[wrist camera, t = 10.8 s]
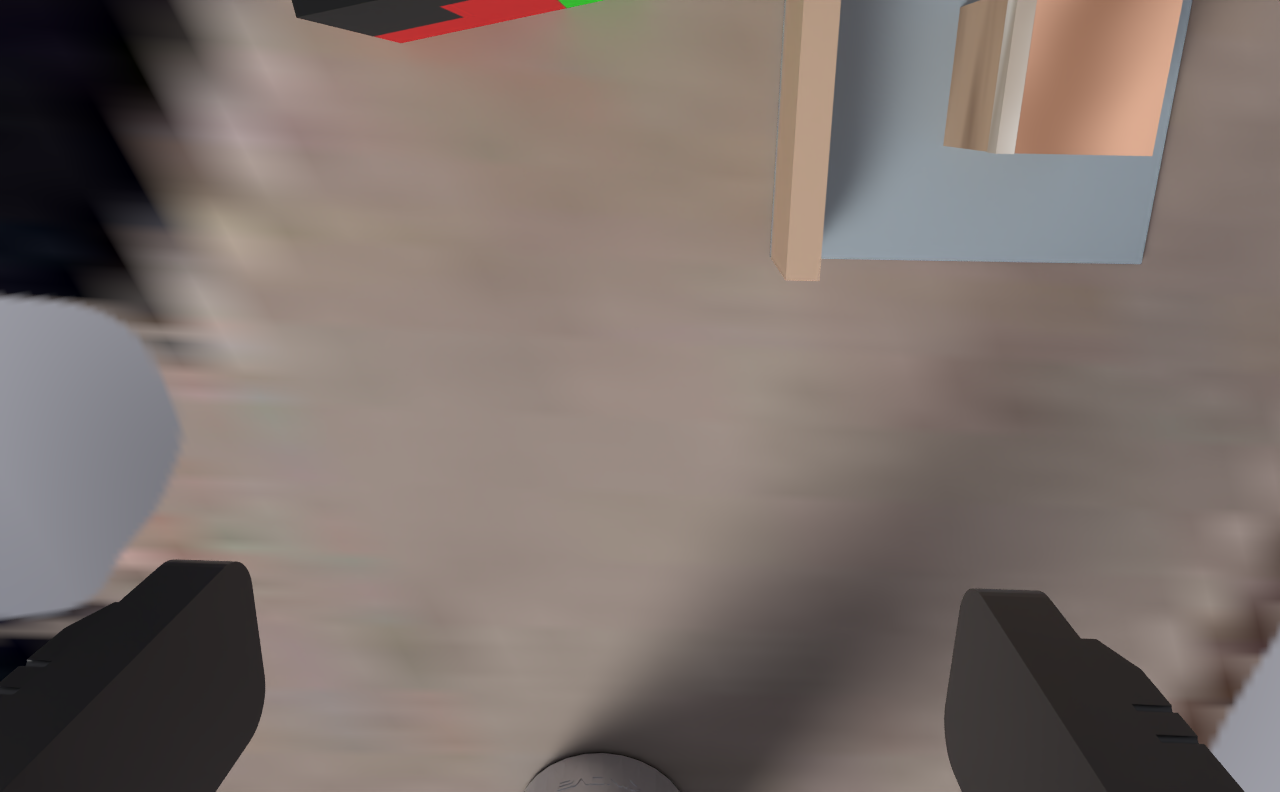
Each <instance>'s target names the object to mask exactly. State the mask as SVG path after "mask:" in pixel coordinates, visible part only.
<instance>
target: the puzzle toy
mask: <svg viewBox="0 0 1280 792" xmlns="http://www.w3.org/2000/svg"><path fill="white" fill-rule="evenodd" d="M598 1H602V0H292V3H293V6H294V10H295V13H296V17H297V18H301V19H305V20H309V21H313V22H317V23H321V24H325V25H329V26H333V27H337V28H341V29H345V30H350V31H354V32H358V33H362V34H366V35H370V36H374V37H378V38H382V39H386V40H390V41H394V42H399V43H404V42H409V41H413V40H418V39H423V38H427V37H432V36H437V35H442V34H446V33H451V32H456V31H461V30H465V29H470V28H475V27H479V26H484V25H489V24H494V23H498V22H503V21H508V20H513V19H517V18H522V17H527V16H531V15H536V14H541V13H546V12H550V11H555V10H560V9H565V8H569V7H574V6H579V5H584V4H588V3H593V2H598Z"/></svg>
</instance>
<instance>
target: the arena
mask: <svg viewBox="0 0 1280 792" xmlns="http://www.w3.org/2000/svg"><path fill="white" fill-rule="evenodd" d="M977 1H979V0H785V6H784V23H783V41H782V58H781V75H780V92H779V109H778V126H777V143H776V160H775V178H774V195H773V212H772V229H771V246H770V257H771V259H772V260H773V262H774V263H775V265H776V266H777V268H778V269H779V271H780V272H781V274H782V275H783V277H784V279H785V280H792V281H819V280H820V267H821V259H873V260H931V261H989V262H1047V263H1105V264H1141V263H1142V258H1143V253H1144V247H1145V242H1146V237H1147V232H1148V227H1149V222H1150V216H1151V211H1152V206H1153V201H1154V196H1155V191H1156V185H1157V180H1158V175H1159V170H1160V165H1161V160H1162V154H1163V149H1164V144H1165V139H1166V134H1167V129H1168V124H1169V118H1170V113H1171V108H1172V103H1173V98H1174V93H1175V87H1176V82H1177V77H1178V72H1179V67H1180V62H1181V56H1182V51H1183V46H1184V41H1185V36H1186V31H1187V25H1188V20H1189V15H1190V10H1191V5H1192V0H1183V3H1182V8H1181V13H1180V18H1179V23H1178V28H1177V33H1176V38H1175V43H1174V48H1173V53H1172V58H1171V64H1170V69H1169V74H1168V79H1167V84H1166V89H1165V94H1164V99H1163V104H1162V109H1161V114H1160V120H1159V125H1158V130H1157V135H1156V140H1155V145H1154V150H1153V155H1152V156H1118V155H1067V154H1017V153H1014V154H994V153H987V152H985V151H978V150H970V149H963V148H955V147H948V146H943V144H944V135H945V127H946V119H947V111H948V103H949V95H950V87H951V78H952V70H953V62H954V54H955V46H956V38H957V30H958V22H959V13H960V7H963V6H965V5H968V4H971V3H974V2H977Z"/></svg>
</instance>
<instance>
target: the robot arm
mask: <svg viewBox="0 0 1280 792" xmlns="http://www.w3.org/2000/svg"><path fill="white" fill-rule="evenodd" d="M264 698H265V675H264V668H263V661H262V653H261V646H260V639H259V631H258V624H257V617H256V610H255V602H254V595H253V588H252V582H251V577H250V574H249V572H248V570H247V568H246V567H245V566H244V565H243V564H242V563H240V562H232V561H203V560H169V561H167V562H165V563H163V564H162V565H161V566H160V567H158V568H157V569H156V570H155V571H154V572H153V573H152V574H150V575H149V576H148V577H147V578H146V579H145V580H144V581H142V582H141V583H140V584H139V585H138V586H137V587H136V588H134V589H133V590H132V591H131V592H130V593H129V594H128V595H126V596H125V597H124V598H123V599H122V600H121V601H120V602H114V603H112V604H110V605H108V606H106V607H104V608H103V609H101V610H99V611H97V612H95V613H93V614H91V615H89V616H87V617H85V618H83V619H81V620H79V621H77V622H75V623H73V624H72V625H70V626H68V627H66V628H64V629H63V630H62V631H61V632H59V633H58V634H57V635H56V636H55V637H53V638H52V639H51V640H50V641H49V642H47V643H46V644H45V645H44V646H43V647H41V648H40V649H39V650H38V651H37V652H36V653H34V654H33V655H32V656H31V657H30V658H28V659H27V664H26V666H19V667H18V668H16V669H15V670H14V671H13V672H12V673H11V674H9V675H8V676H7V677H6V678H5V679H3V680H2V681H1V682H0V792H216V790H217V789H218V787H219V786H220V784H221V783H222V781H223V780H224V779H225V777H226V776H227V774H228V773H229V771H230V770H231V768H232V767H233V765H234V764H235V762H236V761H237V759H238V758H239V756H240V755H241V753H242V752H243V751H244V749H245V748H246V746H247V745H248V743H249V742H250V740H251V738H252V737H253V735H254V733H255V731H256V729H257V726H258V723H259V721H260V717H261V714H262V709H263V704H264ZM944 726H945V739H946V746H947V752H948V756H949V760H950V764H951V767H952V770H953V772H954V775H955V777H956V779H957V782H958V784H959V786H960V789H961V791H962V792H1244V791H1243V789H1242V788H1241V787H1240V786H1239V785H1238V784H1237V782H1236V781H1235V780H1234V779H1233V778H1232V776H1231V775H1230V774H1229V773H1228V772H1227V770H1226V769H1225V768H1224V767H1223V766H1222V765H1221V763H1220V762H1219V761H1218V760H1217V759H1216V758H1215V756H1214V755H1213V754H1212V753H1211V752H1210V750H1209V749H1208V748H1207V747H1206V746H1205V744H1199V743H1198V740H1197V737H1198V736H1197V735H1196V734H1195V733H1194V731H1193V730H1192V729H1191V728H1190V727H1189V725H1188V724H1187V723H1186V722H1185V721H1184V720H1183V718H1182V717H1181V716H1180V715H1179V714H1178V713H1173V712H1172V705H1171V704H1170V703H1169V702H1168V701H1167V699H1166V698H1165V697H1164V696H1163V695H1162V694H1161V692H1160V691H1159V690H1158V689H1157V688H1156V686H1155V685H1154V684H1153V683H1152V682H1151V681H1150V679H1149V678H1148V677H1147V676H1146V675H1145V673H1144V672H1143V671H1142V670H1141V669H1140V668H1138V667H1137V666H1135V665H1134V664H1132V663H1131V662H1129V661H1128V660H1126V659H1125V658H1123V657H1122V656H1120V655H1119V654H1117V653H1116V652H1114V651H1113V650H1111V649H1110V648H1108V647H1107V646H1106V645H1104V644H1103V643H1101V642H1100V641H1098V640H1097V639H1081V638H1080V637H1079V636H1078V635H1077V633H1076V632H1075V631H1074V629H1073V628H1072V627H1071V626H1070V624H1069V623H1068V622H1067V620H1066V619H1065V618H1064V617H1063V615H1062V614H1061V613H1060V611H1059V610H1058V609H1057V608H1056V606H1055V605H1054V604H1053V602H1052V601H1051V600H1050V599H1049V597H1048V596H1047V595H1046V594H1045V593H1043V592H1041V591H1030V590H1001V589H969V590H968V591H967V592H966V593H965V595H964V597H963V599H962V602H961V606H960V611H959V618H958V624H957V631H956V638H955V644H954V651H953V658H952V664H951V671H950V678H949V684H948V691H947V698H946V704H945V717H944ZM524 792H680V791H679V790H678V789H677V788H676V787H675V785H674V784H673V783H672V782H671V781H670V780H669V779H668V778H667V777H665V776H664V775H663V774H662V773H660V772H659V771H658V770H657V769H655V768H653V767H651V766H649V765H647V764H645V763H643V762H641V761H639V760H635V759H632V758H629V757H626V756H622V755H615V754H607V753H595V754H582V755H578V756H574V757H570V758H566V759H564V760H561V761H559V762H557V763H555V764H552V765H550V766H549V767H548V768H546V769H545V770H543V771H542V772H541V773H539V774H538V775H537V776H536V777H535V778H534V779H533V780H532V781H531V782H530V784H529V785H528V786H527V787H526V789H525V791H524Z"/></svg>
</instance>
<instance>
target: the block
mask: <svg viewBox="0 0 1280 792" xmlns="http://www.w3.org/2000/svg"><path fill="white" fill-rule="evenodd" d="M1182 3H1183V0H979V1H977V2H974V3H971V4H968V5H965V6H963V7H960V13H959V22H958V30H957V38H956V46H955V54H954V62H953V70H952V78H951V87H950V95H949V103H948V111H947V119H946V127H945V135H944V144H943V146H948V147H955V148H963V149H970V150H978V151H985V152H987V153H994V154H1014V153H1017V154H1067V155H1118V156H1152V155H1153V150H1154V145H1155V140H1156V135H1157V130H1158V125H1159V120H1160V114H1161V109H1162V104H1163V99H1164V94H1165V89H1166V84H1167V79H1168V74H1169V69H1170V64H1171V58H1172V53H1173V48H1174V43H1175V38H1176V33H1177V28H1178V23H1179V18H1180V13H1181V8H1182Z"/></svg>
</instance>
